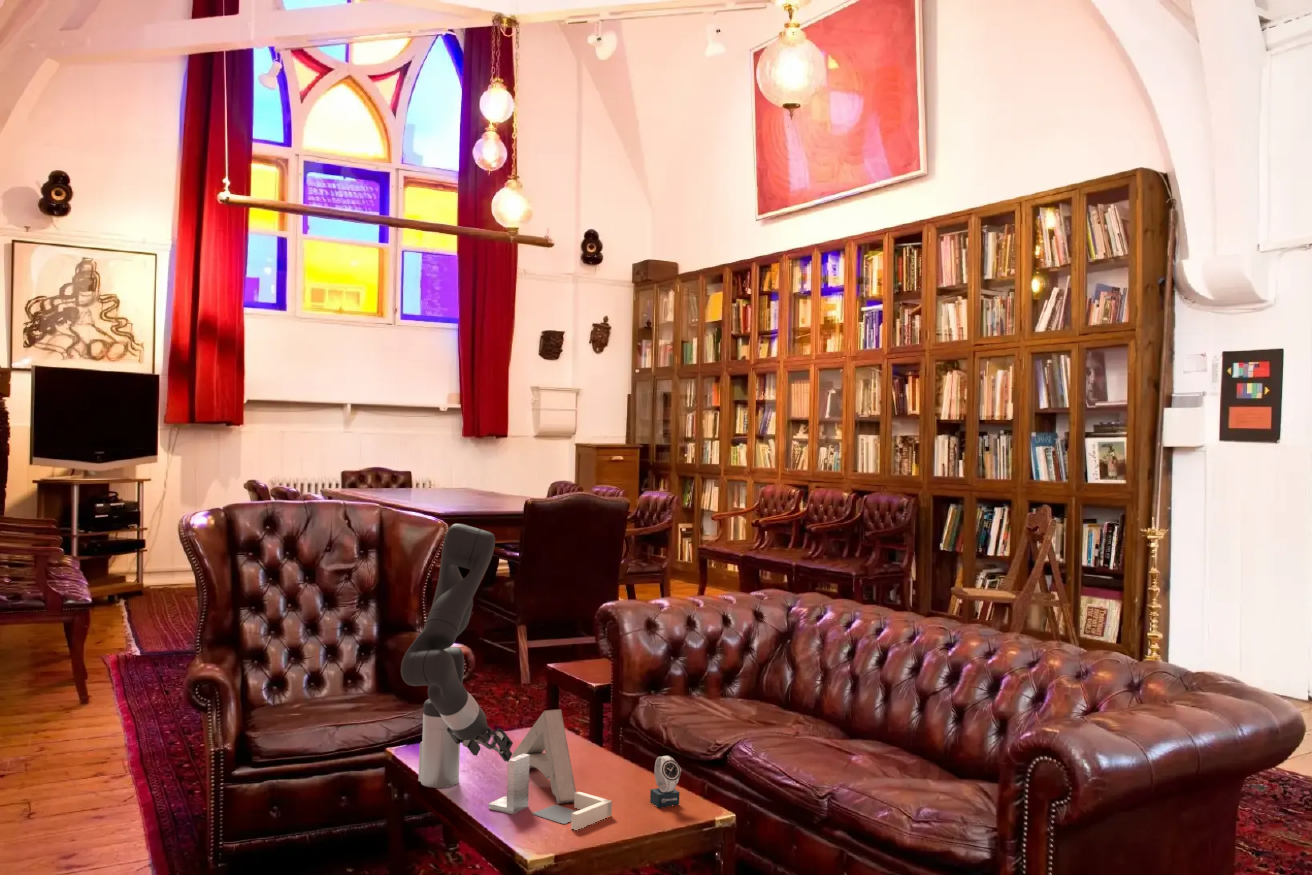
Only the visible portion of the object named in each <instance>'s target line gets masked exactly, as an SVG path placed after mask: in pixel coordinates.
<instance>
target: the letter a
mask: <svg viewBox="0 0 1312 875" xmlns="http://www.w3.org/2000/svg"><path fill="white" fill-rule="evenodd" d="M521 754H529V755H530V762H529V770H530V768H533V769H537V770H538V771H540V773H542V775H543V776H544V778H545V779H547V780H548V779H549V782H550V787H551V788H550V789H551V793H552V794H553V796H554V797H555V799H556V805H560V804H570V803H574V799H575V793H576V792H577V790H576V784H575V779H574V773H573V769H572V763H571V758H570V750H569V745H568V739H567V734H566V730H565V723H564V719H563V711H562V709H560V708H559V709H549V710H548V709H547V710H544V711H543V712H542V713H541V715H539V717H538V719H537V720H536V721H535V723H534V724H533V726H532V727H531V728H530V729H529V731H528V732H527V734H526V735H525V736H524V738H523V739H521V742H520V743H519V744H518V746H517V747H516V748H515V750H514V751H513V752H512V756H511V757H512V758H514V757H516V756H519V755H521ZM512 758H511V759H512ZM569 802H570V803H569Z"/></svg>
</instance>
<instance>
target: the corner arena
mask: <svg viewBox="0 0 1312 875" xmlns="http://www.w3.org/2000/svg"><path fill="white" fill-rule="evenodd" d="M573 804H574V805H573V807H574V809H575V808H577V809H576V810H575V811H576V812H573V813H572V816H571V822H570V829H571V830H572V829H574V830H573V831H575V830H577V831H579V830H578V829H580V830H582V829H584V827H585V828H586V826H587V825H590V824H592V825H594V824H596V823H595V822H597V821H599V820H602V819H604V820H606V819H605V818H606V817H608V816H611V817H612V812H613V810H612V809H613V802H612V800H610V799H606V798H603V797H601V796H596V795H594V794H593V795H592V794H589V793H585V792H582V791H576V793H575V799H574V802H573ZM579 809H580V810H579ZM602 821H603V820H602ZM599 822H600V821H599ZM593 823H594V824H593ZM597 823H598V822H597ZM590 826H591V825H590ZM587 827H588V826H587ZM581 828H582V829H581Z"/></svg>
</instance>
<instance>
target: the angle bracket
mask: <svg viewBox="0 0 1312 875" xmlns="http://www.w3.org/2000/svg"><path fill="white" fill-rule="evenodd" d="M529 762H530V755H529V754H521V755H519V756H516V757H514V758H510V760H509V761H508V762H507V785H506V786H507V787H506V788H507V790H506V796H505V795H504V796H502V797H500V798H498V799H496V800H494V801H492V802H489V803H488V809H489V808H490V809H489V810H491V809H492V811H495V812H501V813H505V814H509V815H515V814H517V813H519V812H521V811H522V810H524V809H527V808H528V807H529V790H530V788H529V787H530V784H529V783H530V769H529Z"/></svg>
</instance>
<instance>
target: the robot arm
mask: <svg viewBox="0 0 1312 875" xmlns="http://www.w3.org/2000/svg"><path fill="white" fill-rule="evenodd" d="M495 545H496V537H495V534H494V533H492V532H491V531H487V530H484V529H481V528H477V527H475V526H474V527H473V526H471V525H470V526H469V525H468V524H464V523H454V524H452V525H451V526H449V528H448V529H447V531H446V533H445V536H444V540H443V543H442V548H441V549H442V550H441V558H440V564H439V565H440V566H439V575H438V580H437V585H436V589H435V592H434V596H433V600H432V605H431V609H430V611H429V613H428V616H427V619H426V622H425V624H424V626H423V629H422V630H421V632H419V634H418V636H416V638H415V639H414V641H413V642H412V643H411V645H410V646H409V647H408V649H407V650H406V652H405V653H404V656H403V657H402V660H401V665H400V676H401V678H402V680H403V682H404V683H405V684H407V685H408V686H413V687H421V686H427V687H428V688H427V696H428V699H426V700H425V701H424V703H423V706H422V708H423V709H422V710H423V712H422V713H423V714H422V736H421V739H422V741H420V743H419V748H418V749H419V752H418V779H417V780H418V782H420V784H421V785H422V786H424V787H426V788H434V789H440V788H442V789H443V788H449V787H453V786H456V785H457V784H458V783H459V781H460V757H461V756H460V754H461V744H462V746H463V747H465V748H467V749H468V750H469V752H470V753H471V754H472V755H473V756H476V757H477V756H478V755H479V752H480V750H481V746H480V745H482V746H483V747H485V748H486V749H488V750H490V751H492V750H494V751H495V752H497V753H498V755H499V756H500V757H501V758H502V760H503V761H504V762H506V763H508V761H509V760H510V759H512V758H511V757H512V754H513V752H512V751H511V748H512V747H513V744H514V743H513V741H512V739H511V738H510V737H509V736H508V734H507V733H506V732H505V731H504V729H502V728H501V727H498V728H497V729H496V731H495V730H493V729H492V728H491V727H490V726H488V722H487V715H486V714H485V712H484V710H483V709H482V708H481V707H480V706H481V705H479V703H478V702H477V700H476V699H475V698H474V696H473V695H472V694H471V693H469V691H468V690H467V689H466V688H465V687H464V685H463V683H464V681H463V680H464V672H465V655H464V651H463V649H461V648H460V647H459V646H453V645H454V643H455V642H456V639H457V637H458V636H459V635H461V634H462V633H463V631H464V630H465V629H466V628H467V626H468V625H469V623H470V620H471V619H470V618H471V615H472V611H473V607H474V600H473V597H474V596H475V594H476V592H477V590H478V588H479V586H480V584H481V583H482V582H481V581H482V580H483V578H484V576H485V574H486V572H487V570H488V567H489V565H490V563H491V560H492V557H493V554H494V551H495ZM459 568H464V569H468V570H469V572H468V574H467V575H466V576H465V577H464V578H463V576H462V574H461V571H460V569H459ZM491 738H492V741H491V743H489V742H490V740H491ZM455 784H456V785H455Z"/></svg>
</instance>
